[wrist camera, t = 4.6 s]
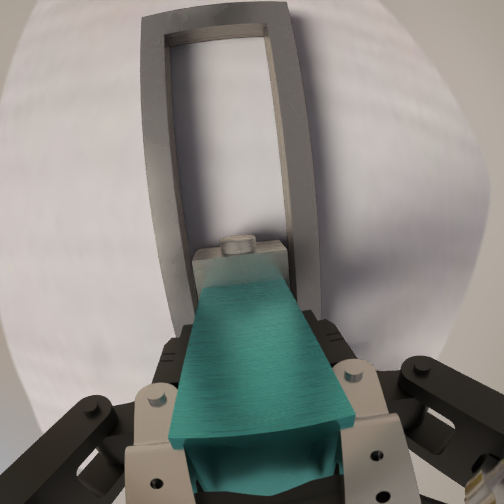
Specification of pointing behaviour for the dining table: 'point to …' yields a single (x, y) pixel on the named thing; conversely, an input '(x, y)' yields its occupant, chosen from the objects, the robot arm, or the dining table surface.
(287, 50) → the rails
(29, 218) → the dining table surface
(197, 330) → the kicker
